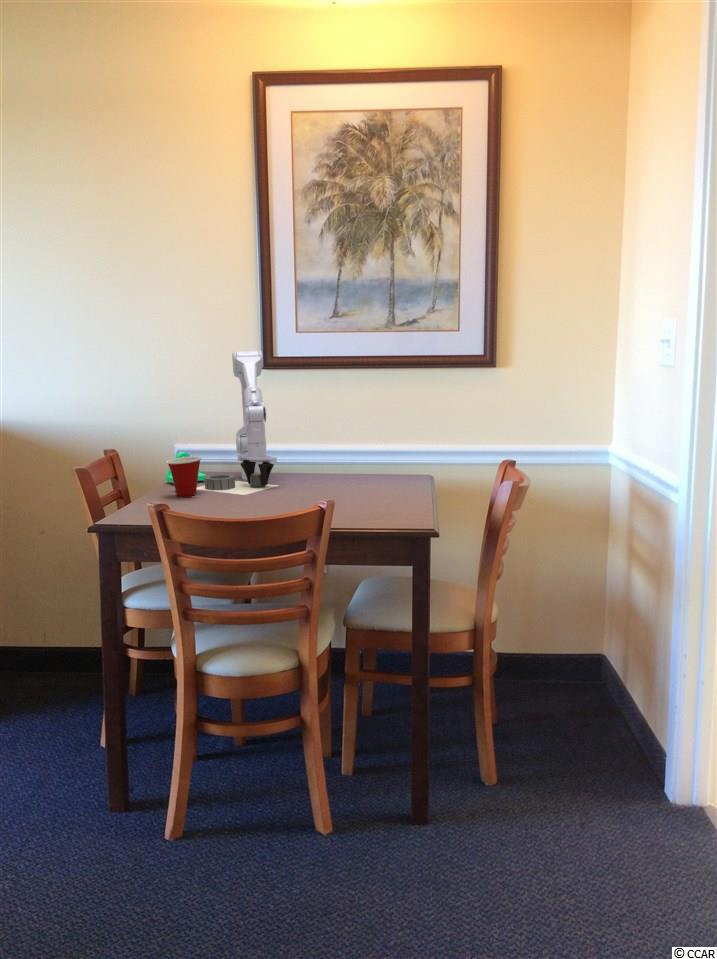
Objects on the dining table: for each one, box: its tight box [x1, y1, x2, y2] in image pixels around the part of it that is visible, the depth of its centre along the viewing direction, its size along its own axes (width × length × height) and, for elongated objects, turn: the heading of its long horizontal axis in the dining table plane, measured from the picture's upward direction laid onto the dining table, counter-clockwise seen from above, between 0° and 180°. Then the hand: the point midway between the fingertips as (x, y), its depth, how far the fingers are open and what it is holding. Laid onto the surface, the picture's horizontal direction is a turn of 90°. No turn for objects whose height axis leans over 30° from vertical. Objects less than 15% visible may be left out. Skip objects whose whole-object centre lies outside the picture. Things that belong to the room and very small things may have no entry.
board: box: [196, 473, 281, 496], centre depth 283 cm, size 18×22×4 cm
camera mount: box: [165, 451, 207, 484], centre depth 297 cm, size 12×8×10 cm, turn 123°
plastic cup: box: [166, 456, 202, 498], centre depth 273 cm, size 11×11×12 cm
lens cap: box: [250, 473, 266, 488], centre depth 283 cm, size 5×5×4 cm
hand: (257, 484), depth 283 cm, fingers closed on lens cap, 5 cm apart
